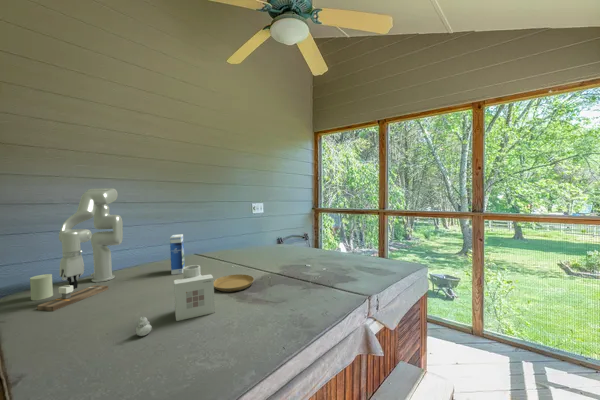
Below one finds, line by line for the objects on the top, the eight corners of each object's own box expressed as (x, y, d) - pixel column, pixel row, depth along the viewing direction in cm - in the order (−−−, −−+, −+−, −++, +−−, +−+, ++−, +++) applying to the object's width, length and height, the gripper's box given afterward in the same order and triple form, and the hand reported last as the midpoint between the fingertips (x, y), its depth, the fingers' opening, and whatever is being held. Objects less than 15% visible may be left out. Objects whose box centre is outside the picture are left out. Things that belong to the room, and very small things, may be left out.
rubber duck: (132, 338, 106) (131, 318, 105) (141, 330, 112) (141, 310, 112) (146, 338, 106) (145, 317, 106) (155, 329, 112) (154, 310, 112)
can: (56, 295, 156) (55, 274, 155) (35, 301, 147) (34, 279, 147) (48, 293, 159) (47, 272, 159) (27, 299, 151) (25, 277, 151)
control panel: (176, 321, 119) (174, 275, 119) (173, 306, 136) (172, 265, 135) (214, 312, 127) (213, 269, 126) (208, 299, 143) (206, 261, 143)
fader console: (37, 309, 136) (37, 305, 136) (94, 288, 165) (94, 285, 165) (53, 311, 134) (53, 306, 134) (108, 289, 163) (108, 285, 163)
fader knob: (59, 298, 144) (58, 287, 143) (66, 296, 147) (65, 284, 147) (66, 299, 143) (66, 287, 142) (73, 296, 146) (73, 285, 146)
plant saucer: (223, 297, 147) (223, 290, 146) (205, 286, 165) (205, 280, 165) (262, 285, 162) (261, 280, 162) (241, 277, 181) (241, 272, 180)
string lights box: (182, 273, 191) (181, 236, 190) (170, 275, 189) (169, 237, 188) (184, 268, 204) (183, 233, 203) (173, 269, 202) (172, 234, 201)
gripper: (79, 251, 156) (81, 283, 156) (51, 257, 141) (53, 293, 142) (90, 251, 154) (92, 284, 155) (62, 257, 140) (64, 293, 140)
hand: (73, 288), depth 148 cm, fingers closed
